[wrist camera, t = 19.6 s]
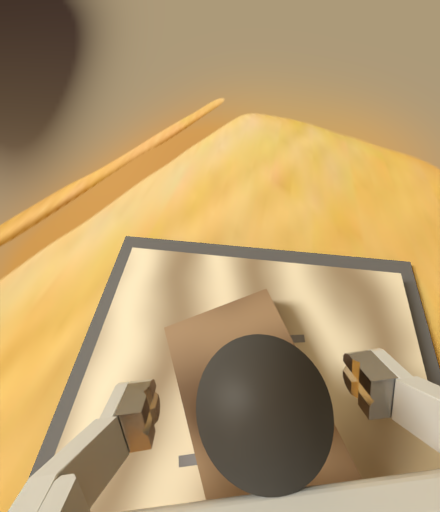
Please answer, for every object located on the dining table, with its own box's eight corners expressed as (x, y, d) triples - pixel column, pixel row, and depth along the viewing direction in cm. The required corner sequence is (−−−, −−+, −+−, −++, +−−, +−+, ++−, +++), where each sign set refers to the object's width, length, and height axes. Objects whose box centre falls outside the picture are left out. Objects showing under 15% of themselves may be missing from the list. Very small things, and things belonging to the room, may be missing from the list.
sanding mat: (-10, 588, 13) (-20, 597, 12) (128, 239, 24) (125, 236, 23) (536, 760, 10) (553, 782, 9) (405, 265, 20) (410, 261, 20)
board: (33, 551, 13) (9, 571, 12) (138, 255, 22) (132, 247, 20) (476, 677, 10) (513, 722, 9) (389, 280, 19) (401, 273, 18)
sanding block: (341, 464, 13) (615, 676, 4) (222, 523, 12) (174, 1002, 3) (262, 300, 17) (291, 207, 8) (173, 334, 17) (95, 275, 7)
